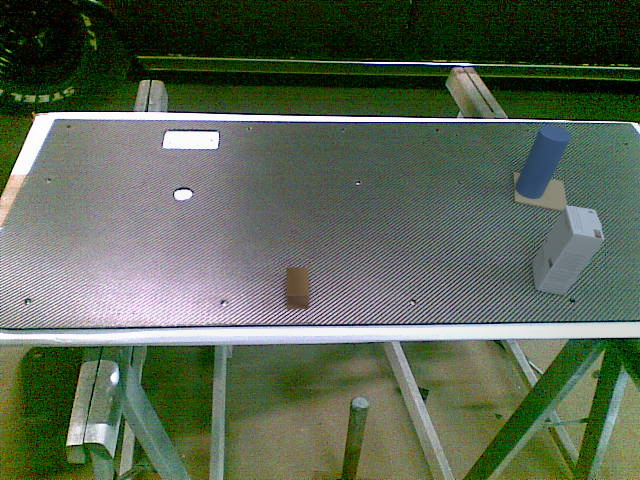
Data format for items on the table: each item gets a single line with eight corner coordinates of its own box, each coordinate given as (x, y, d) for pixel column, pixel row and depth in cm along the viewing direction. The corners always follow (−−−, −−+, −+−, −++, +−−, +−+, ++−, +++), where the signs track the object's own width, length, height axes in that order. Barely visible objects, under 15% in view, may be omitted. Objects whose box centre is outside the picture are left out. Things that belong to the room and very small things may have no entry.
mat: (567, 213, 83) (568, 211, 82) (514, 202, 84) (515, 200, 84) (562, 182, 89) (563, 181, 89) (513, 173, 90) (513, 171, 90)
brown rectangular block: (307, 281, 68) (308, 267, 66) (308, 309, 65) (309, 295, 63) (286, 281, 68) (286, 267, 66) (286, 309, 65) (286, 295, 63)
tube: (549, 121, 80) (533, 131, 78) (577, 134, 78) (561, 144, 75) (524, 178, 89) (509, 188, 86) (548, 192, 86) (533, 202, 84)
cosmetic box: (530, 262, 74) (562, 202, 65) (560, 267, 73) (596, 208, 65) (535, 292, 69) (570, 232, 61) (567, 298, 69) (606, 238, 60)
